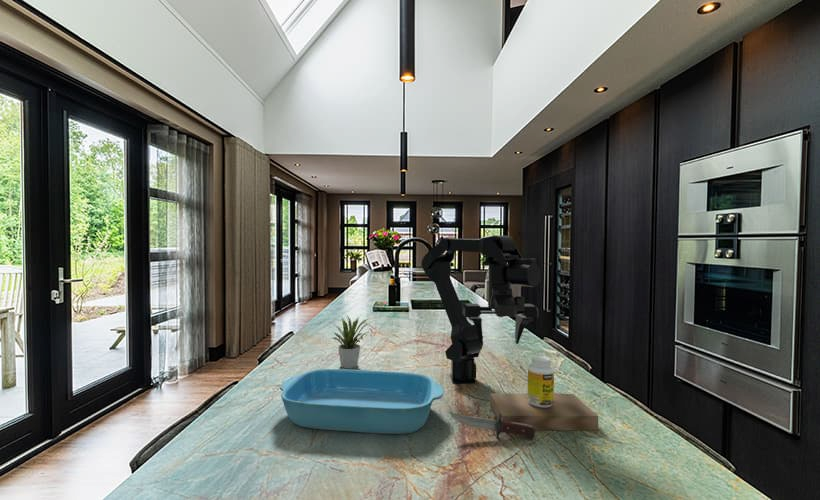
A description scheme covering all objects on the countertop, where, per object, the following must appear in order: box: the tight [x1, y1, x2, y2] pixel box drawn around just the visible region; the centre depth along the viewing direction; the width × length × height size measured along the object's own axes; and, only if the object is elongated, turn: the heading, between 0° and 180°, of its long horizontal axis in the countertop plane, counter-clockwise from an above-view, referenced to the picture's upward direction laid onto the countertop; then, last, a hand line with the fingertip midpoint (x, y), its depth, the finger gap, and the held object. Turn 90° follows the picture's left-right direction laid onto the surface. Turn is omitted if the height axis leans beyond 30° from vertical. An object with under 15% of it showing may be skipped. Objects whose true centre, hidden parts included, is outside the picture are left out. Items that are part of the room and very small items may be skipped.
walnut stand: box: [489, 392, 599, 431], centre depth 85 cm, size 20×12×3 cm, turn 90°
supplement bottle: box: [527, 355, 555, 408], centre depth 85 cm, size 6×6×10 cm
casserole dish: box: [279, 368, 444, 435], centre depth 86 cm, size 37×22×7 cm, turn 85°
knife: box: [448, 411, 536, 440], centre depth 76 cm, size 17×1×5 cm, turn 87°
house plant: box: [328, 314, 373, 369], centre depth 121 cm, size 14×14×16 cm
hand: (499, 343), depth 99 cm, fingers open, 9 cm apart
